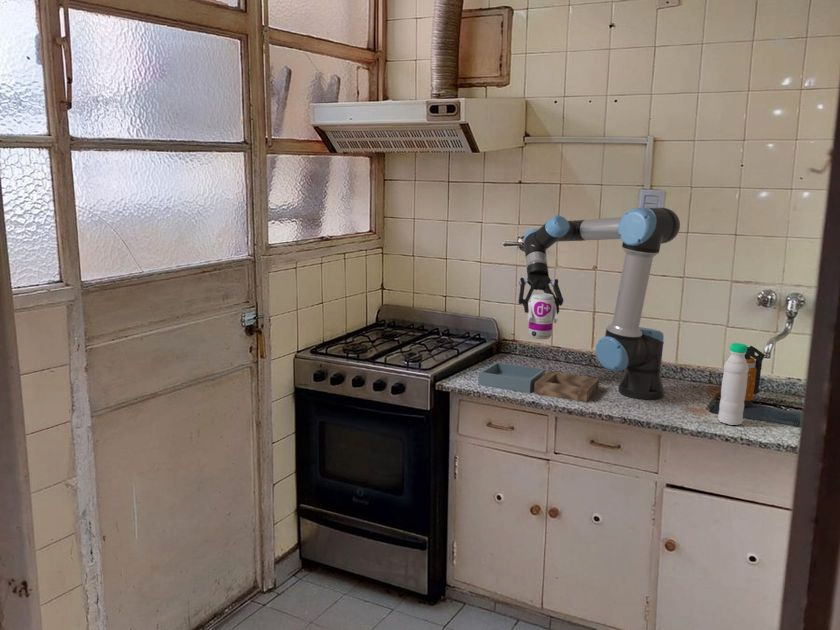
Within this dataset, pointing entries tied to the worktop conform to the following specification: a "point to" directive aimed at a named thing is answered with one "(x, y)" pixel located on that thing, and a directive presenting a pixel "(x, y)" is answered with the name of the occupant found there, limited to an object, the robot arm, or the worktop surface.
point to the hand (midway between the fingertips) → (543, 320)
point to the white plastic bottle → (734, 386)
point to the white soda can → (541, 316)
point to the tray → (510, 377)
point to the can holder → (567, 386)
